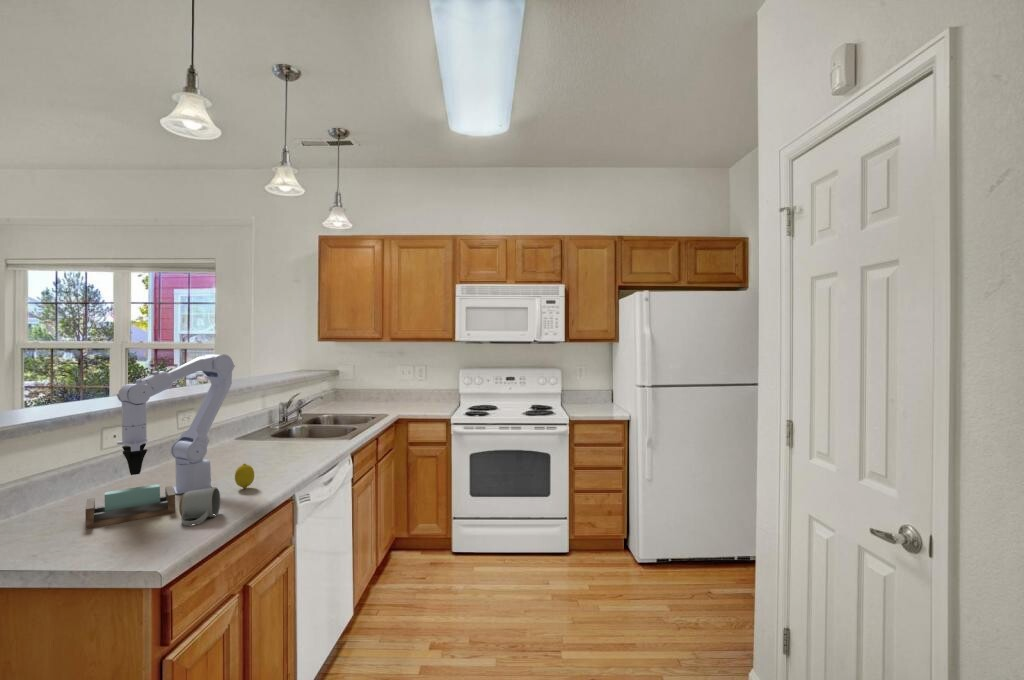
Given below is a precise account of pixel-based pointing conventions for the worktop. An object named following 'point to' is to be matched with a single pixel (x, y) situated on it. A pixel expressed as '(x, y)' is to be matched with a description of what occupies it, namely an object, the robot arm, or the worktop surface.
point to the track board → (129, 511)
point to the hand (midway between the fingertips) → (134, 471)
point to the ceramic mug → (199, 505)
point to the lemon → (244, 475)
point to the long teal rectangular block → (132, 497)
